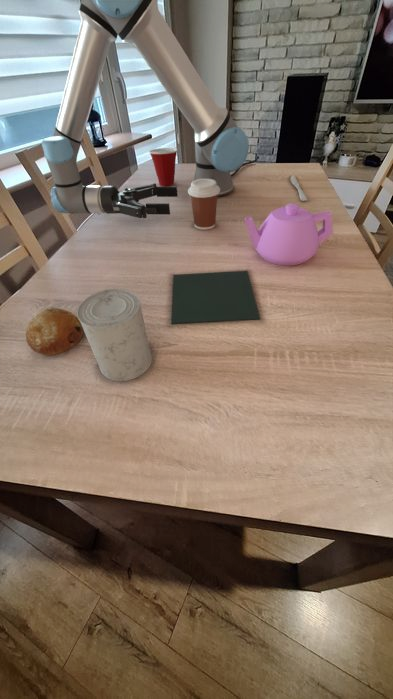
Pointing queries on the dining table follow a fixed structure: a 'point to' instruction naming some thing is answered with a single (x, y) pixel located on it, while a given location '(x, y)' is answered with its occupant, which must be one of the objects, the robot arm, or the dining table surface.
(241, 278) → the mat
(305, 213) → the teapot
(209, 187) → the coffee cup
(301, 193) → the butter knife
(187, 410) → the dining table surface
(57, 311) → the bread roll
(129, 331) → the grey tin can
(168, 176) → the plastic cup
